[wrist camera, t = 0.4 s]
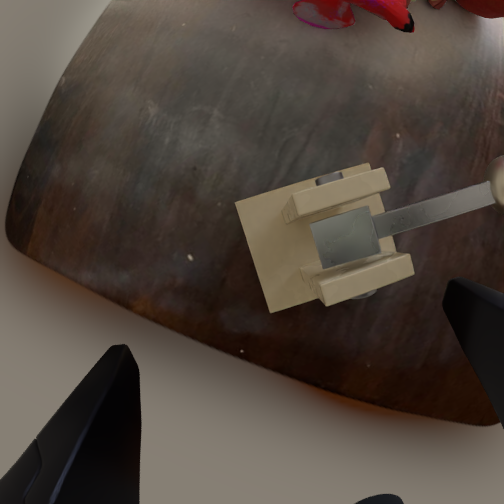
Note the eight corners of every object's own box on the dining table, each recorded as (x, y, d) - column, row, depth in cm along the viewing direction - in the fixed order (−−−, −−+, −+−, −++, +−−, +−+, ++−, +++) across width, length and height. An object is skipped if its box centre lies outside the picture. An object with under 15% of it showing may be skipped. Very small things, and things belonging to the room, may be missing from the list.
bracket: (364, 165, 23) (421, 124, 13) (394, 267, 23) (466, 284, 13) (236, 204, 23) (216, 180, 13) (270, 309, 23) (273, 358, 14)
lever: (511, 153, 12) (534, 145, 10) (526, 207, 12) (551, 209, 10) (316, 213, 17) (304, 215, 14) (332, 267, 17) (324, 279, 14)
